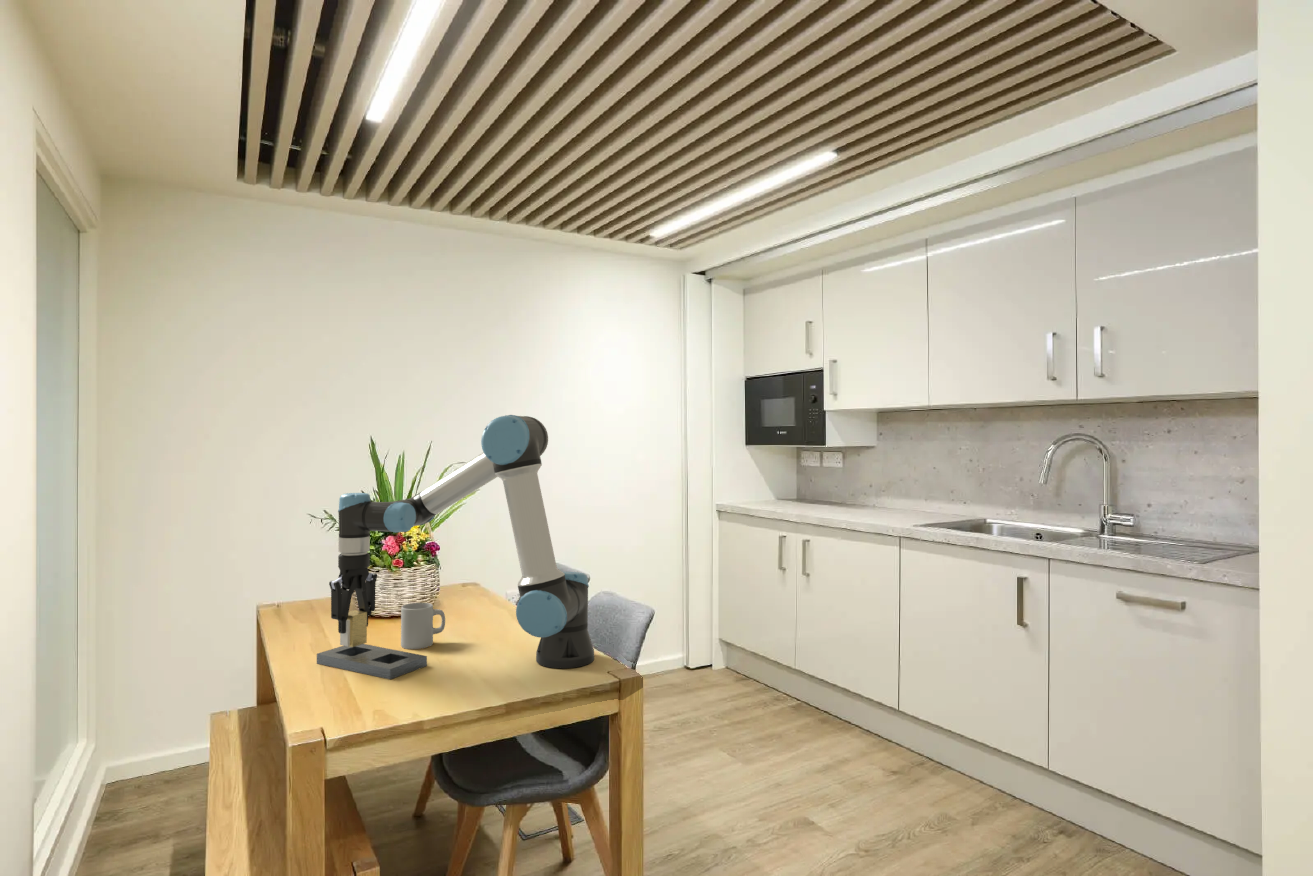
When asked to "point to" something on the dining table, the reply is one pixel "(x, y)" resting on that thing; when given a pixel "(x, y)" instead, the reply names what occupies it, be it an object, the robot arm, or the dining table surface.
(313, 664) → the dining table surface
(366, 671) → the square hole plate
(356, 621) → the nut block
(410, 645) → the mug
